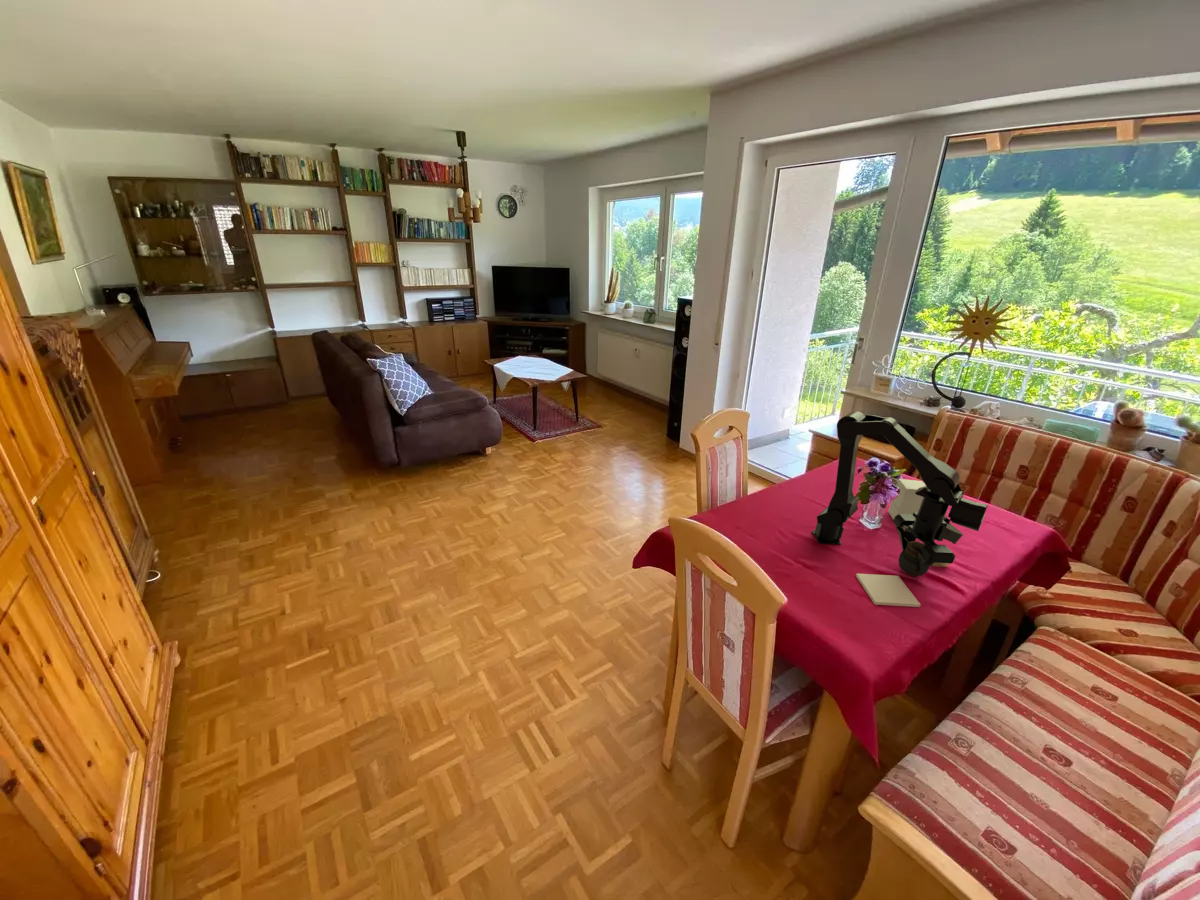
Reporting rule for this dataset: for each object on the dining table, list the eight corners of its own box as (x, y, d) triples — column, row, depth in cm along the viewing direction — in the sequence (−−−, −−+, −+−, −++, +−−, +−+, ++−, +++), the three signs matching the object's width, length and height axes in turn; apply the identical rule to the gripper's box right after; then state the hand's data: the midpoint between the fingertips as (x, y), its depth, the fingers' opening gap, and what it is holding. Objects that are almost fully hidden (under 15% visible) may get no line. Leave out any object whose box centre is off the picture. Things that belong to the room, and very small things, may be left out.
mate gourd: (931, 581, 130) (943, 550, 126) (900, 577, 131) (911, 547, 127) (919, 564, 136) (930, 534, 132) (890, 561, 137) (900, 531, 133)
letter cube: (932, 566, 137) (937, 554, 136) (924, 557, 141) (929, 545, 139) (947, 567, 137) (952, 554, 136) (938, 558, 141) (943, 546, 139)
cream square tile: (874, 604, 122) (875, 601, 122) (855, 575, 132) (856, 573, 132) (919, 607, 122) (920, 604, 121) (897, 578, 132) (898, 575, 131)
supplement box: (919, 526, 156) (932, 491, 151) (894, 523, 157) (906, 488, 152) (911, 514, 163) (923, 480, 157) (887, 511, 164) (898, 477, 159)
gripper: (987, 536, 117) (964, 588, 124) (941, 497, 134) (924, 544, 141) (939, 534, 118) (920, 585, 124) (900, 495, 135) (884, 542, 141)
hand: (912, 563), depth 133 cm, fingers closed on mate gourd, 7 cm apart
